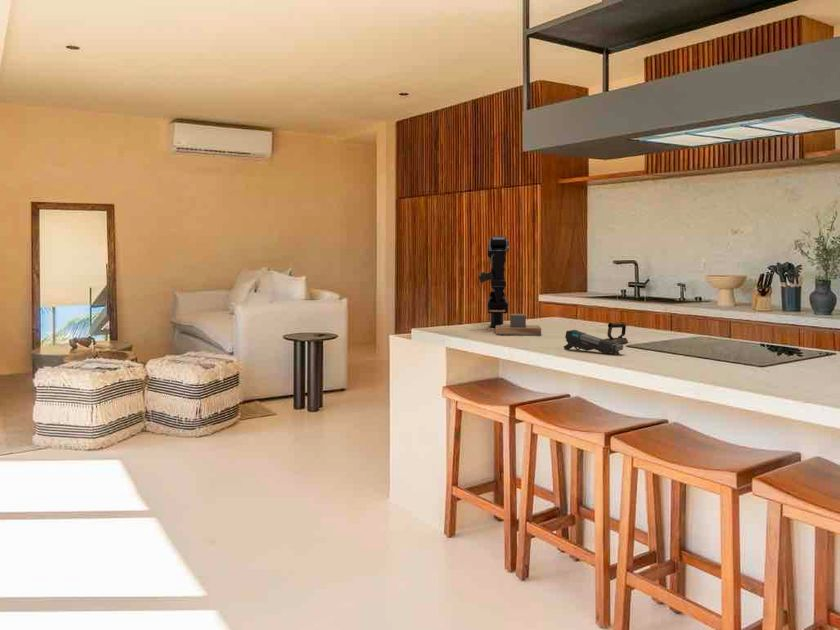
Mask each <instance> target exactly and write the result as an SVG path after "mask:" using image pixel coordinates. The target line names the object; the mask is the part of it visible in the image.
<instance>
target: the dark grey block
mask: <svg viewBox="0 0 840 630" xmlns="http://www.w3.org/2000/svg"><path fill="white" fill-rule="evenodd" d="M509 316H510V317H509V318H510V319H509V325H510V327H514V328H526V325H527V324H526V323H527V322H526V321H527V318H526V317H527V316H526V314H525V313H510V315H509Z"/></svg>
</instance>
